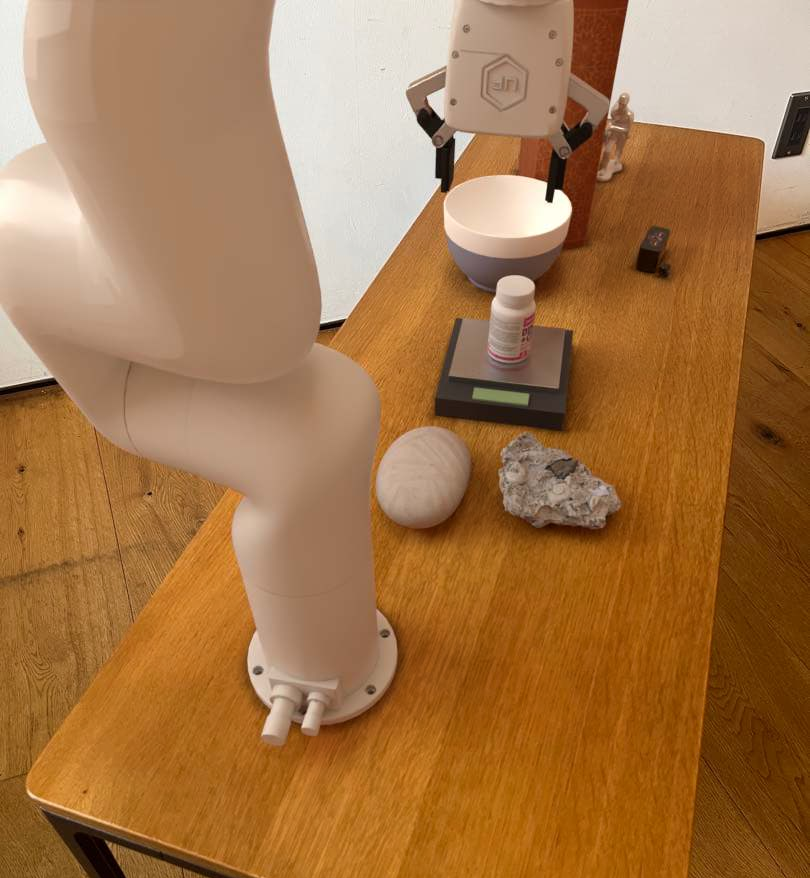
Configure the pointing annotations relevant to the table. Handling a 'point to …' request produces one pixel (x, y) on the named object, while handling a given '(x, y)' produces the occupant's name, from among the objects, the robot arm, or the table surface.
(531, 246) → the bowl
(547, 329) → the scale pan
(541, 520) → the mineral specimen
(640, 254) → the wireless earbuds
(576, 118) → the book
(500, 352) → the pill bottle
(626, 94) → the figurine
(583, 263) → the table surface
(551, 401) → the scale
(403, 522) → the decorative stone
